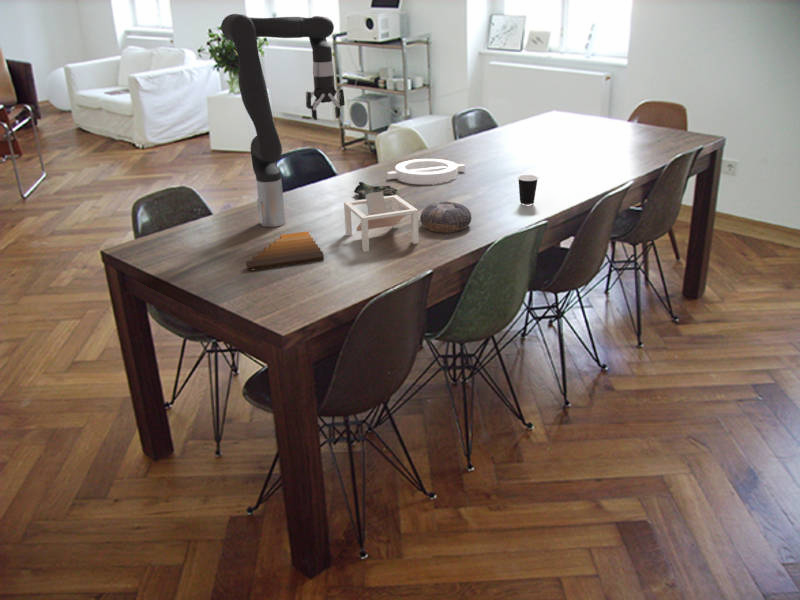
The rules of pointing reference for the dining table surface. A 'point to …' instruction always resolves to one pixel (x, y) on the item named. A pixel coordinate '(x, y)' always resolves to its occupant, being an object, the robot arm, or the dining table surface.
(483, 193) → the dining table surface
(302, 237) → the pan flute
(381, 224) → the trapdoor
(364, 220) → the white four-legged frame
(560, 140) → the dining table surface
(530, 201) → the glass of dark beer
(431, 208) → the sea urchin shell
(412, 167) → the ring with crossbar
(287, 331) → the dining table surface
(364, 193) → the decorative rock
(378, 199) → the grey upright block
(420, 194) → the dining table surface
